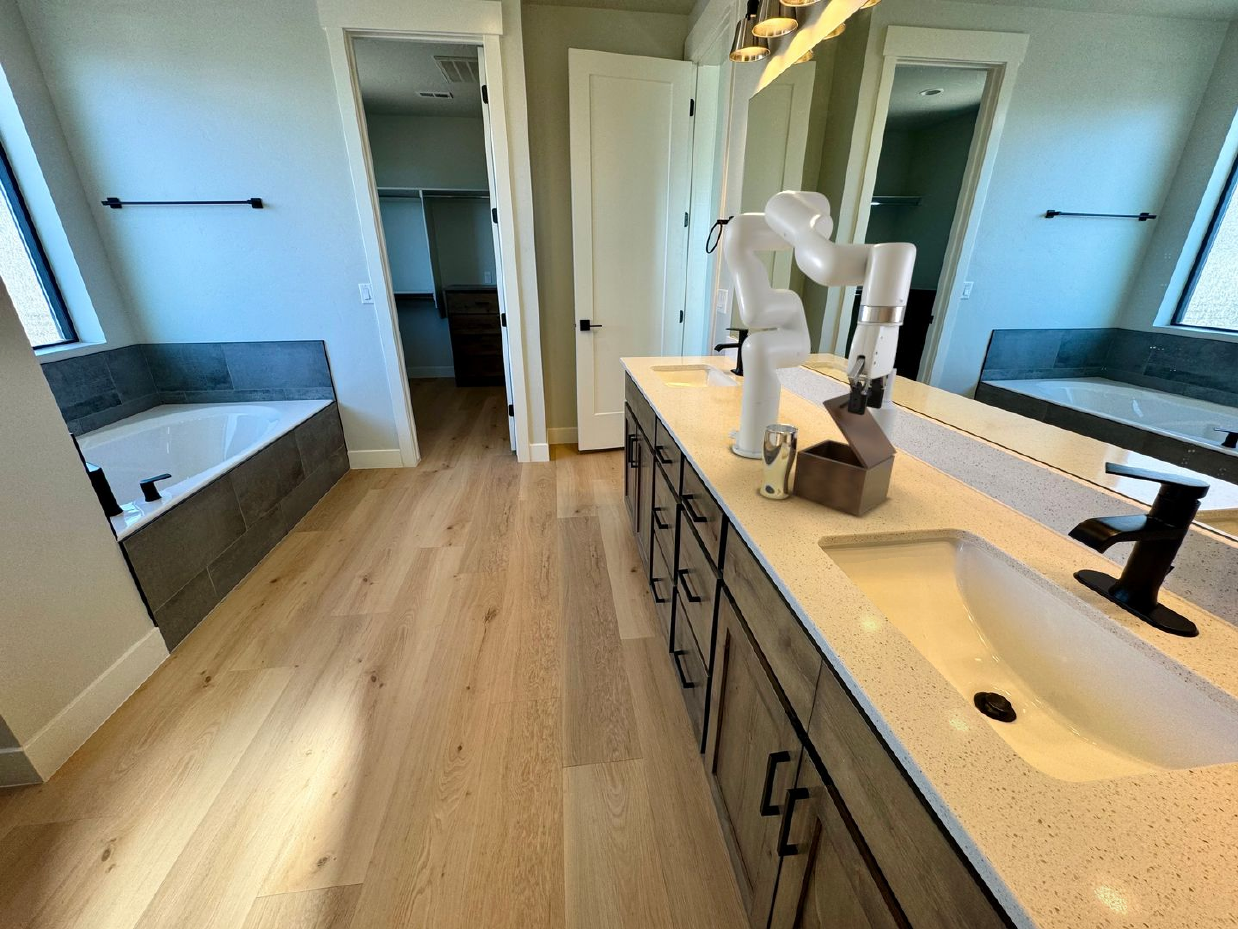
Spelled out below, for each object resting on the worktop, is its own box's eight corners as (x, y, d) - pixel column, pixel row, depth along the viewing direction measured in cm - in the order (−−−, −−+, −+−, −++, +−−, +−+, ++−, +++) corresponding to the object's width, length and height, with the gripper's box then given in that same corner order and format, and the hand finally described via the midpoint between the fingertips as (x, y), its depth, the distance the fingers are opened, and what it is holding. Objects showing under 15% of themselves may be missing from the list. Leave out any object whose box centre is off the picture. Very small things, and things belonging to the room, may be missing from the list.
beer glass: (768, 501, 104) (775, 434, 98) (752, 489, 110) (757, 424, 105) (797, 497, 106) (806, 431, 100) (779, 485, 112) (786, 421, 106)
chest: (792, 493, 107) (797, 451, 104) (822, 478, 115) (827, 439, 111) (858, 516, 97) (866, 470, 93) (886, 498, 104) (895, 455, 101)
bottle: (887, 478, 115) (908, 371, 106) (863, 477, 116) (882, 370, 107) (880, 470, 119) (900, 367, 110) (857, 469, 120) (875, 366, 111)
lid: (822, 402, 97) (842, 388, 93) (852, 392, 105) (873, 379, 101) (865, 469, 94) (888, 457, 90) (893, 454, 101) (916, 442, 97)
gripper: (881, 312, 98) (865, 399, 105) (837, 317, 88) (823, 414, 95) (921, 314, 93) (902, 406, 100) (880, 320, 83) (862, 423, 90)
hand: (864, 409), depth 97 cm, fingers closed on lid, 6 cm apart
